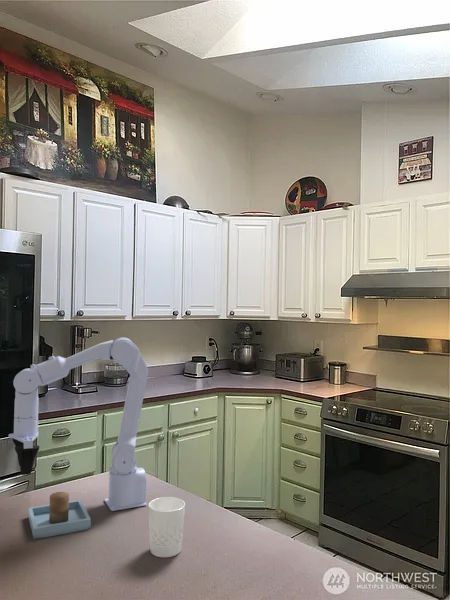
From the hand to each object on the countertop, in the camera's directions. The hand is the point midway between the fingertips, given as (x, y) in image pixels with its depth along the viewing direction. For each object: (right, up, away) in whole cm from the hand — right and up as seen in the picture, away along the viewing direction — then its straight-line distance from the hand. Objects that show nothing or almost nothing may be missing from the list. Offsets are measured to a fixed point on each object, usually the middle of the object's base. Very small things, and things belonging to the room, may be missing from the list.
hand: (24, 469), depth 125 cm
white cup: (+38, -11, -19) cm, 44 cm away
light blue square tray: (+11, -11, -7) cm, 17 cm away
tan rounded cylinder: (+11, -10, -7) cm, 16 cm away
